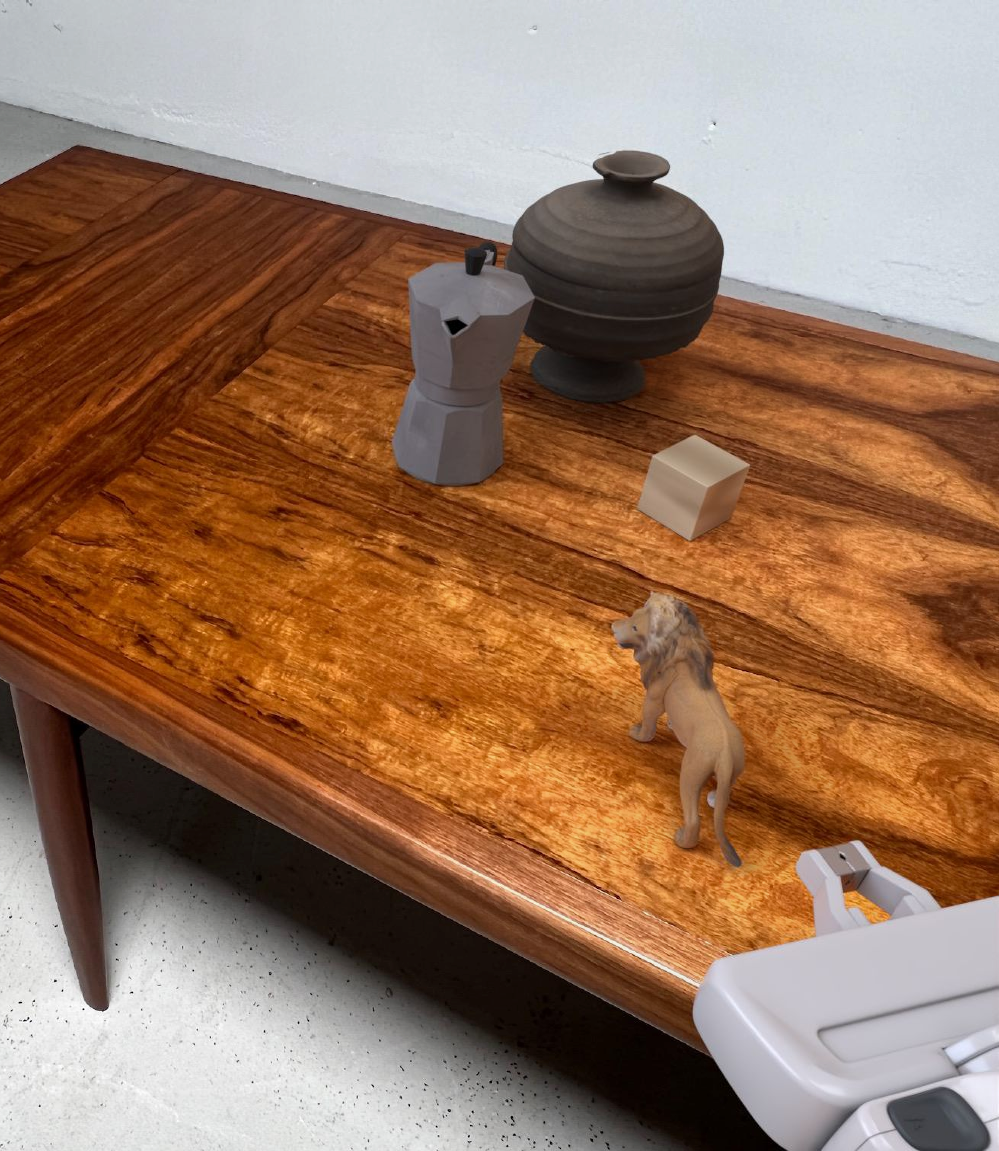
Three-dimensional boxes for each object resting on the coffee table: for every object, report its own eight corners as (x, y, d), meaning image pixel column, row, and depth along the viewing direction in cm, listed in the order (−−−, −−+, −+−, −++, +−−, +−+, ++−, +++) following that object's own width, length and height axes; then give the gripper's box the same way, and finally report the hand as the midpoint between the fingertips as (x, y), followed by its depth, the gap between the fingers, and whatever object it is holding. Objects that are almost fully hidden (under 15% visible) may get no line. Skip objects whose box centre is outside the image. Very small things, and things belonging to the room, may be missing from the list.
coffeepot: (489, 512, 87) (528, 298, 76) (371, 488, 90) (391, 277, 78) (520, 412, 98) (558, 212, 87) (413, 393, 101) (437, 196, 89)
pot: (453, 390, 100) (500, 160, 88) (516, 323, 113) (564, 114, 101) (656, 451, 93) (737, 211, 81) (698, 372, 106) (773, 155, 94)
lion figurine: (581, 690, 73) (611, 585, 67) (658, 679, 74) (694, 574, 68) (694, 880, 62) (741, 774, 56) (782, 865, 63) (838, 758, 57)
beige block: (678, 487, 90) (694, 434, 87) (731, 518, 87) (750, 464, 83) (636, 508, 88) (652, 455, 84) (689, 541, 85) (708, 487, 81)
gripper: (1301, 1040, 44) (1036, 773, 55) (844, 1161, 41) (653, 851, 51) (1210, 1113, 48) (979, 852, 59) (788, 1229, 45) (621, 929, 55)
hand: (824, 852), depth 55 cm, fingers closed
